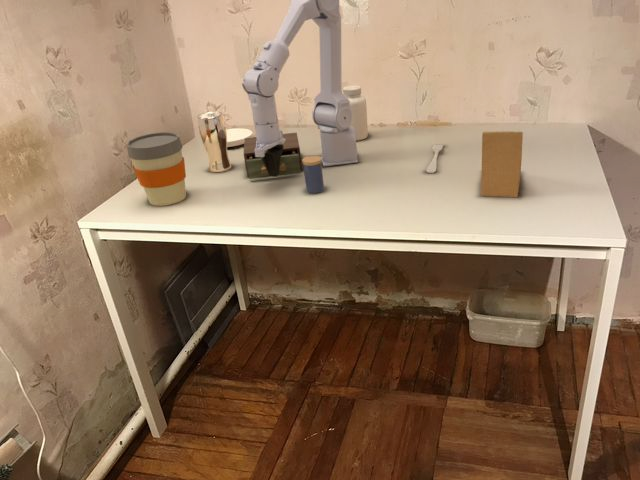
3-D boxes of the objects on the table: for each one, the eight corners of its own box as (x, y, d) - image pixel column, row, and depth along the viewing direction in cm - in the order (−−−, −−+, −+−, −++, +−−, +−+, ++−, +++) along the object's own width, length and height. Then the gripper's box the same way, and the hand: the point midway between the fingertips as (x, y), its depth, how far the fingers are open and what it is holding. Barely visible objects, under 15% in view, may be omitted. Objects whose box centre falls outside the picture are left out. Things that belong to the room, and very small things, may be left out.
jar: (323, 185, 145) (320, 154, 141) (325, 192, 141) (322, 161, 137) (305, 187, 144) (301, 157, 140) (306, 194, 140) (302, 163, 136)
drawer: (301, 178, 148) (299, 160, 145) (248, 184, 146) (245, 166, 144) (298, 157, 162) (295, 140, 159) (249, 163, 161) (247, 146, 158)
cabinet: (302, 170, 155) (299, 147, 152) (247, 177, 154) (243, 153, 150) (299, 154, 167) (296, 132, 163) (248, 160, 165) (244, 138, 162)
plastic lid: (216, 153, 173) (215, 145, 172) (203, 142, 184) (201, 134, 182) (260, 143, 179) (259, 135, 177) (244, 133, 189) (243, 125, 188)
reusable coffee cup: (152, 190, 150) (136, 133, 143) (199, 187, 150) (186, 130, 142) (134, 210, 140) (116, 150, 132) (185, 207, 139) (170, 146, 131)
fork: (425, 181, 148) (425, 171, 147) (435, 146, 164) (434, 137, 163) (436, 181, 148) (436, 171, 146) (445, 146, 164) (445, 137, 162)
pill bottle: (368, 140, 173) (365, 89, 166) (341, 142, 174) (337, 91, 166) (368, 132, 180) (365, 83, 173) (342, 134, 181) (338, 85, 173)
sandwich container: (520, 172, 143) (524, 111, 135) (518, 197, 130) (523, 131, 122) (484, 171, 145) (486, 111, 137) (479, 196, 132) (482, 131, 125)
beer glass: (227, 173, 158) (216, 118, 150) (203, 172, 159) (192, 118, 152) (237, 164, 163) (227, 111, 156) (214, 164, 165) (203, 111, 157)
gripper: (271, 130, 131) (280, 186, 138) (291, 112, 143) (298, 165, 150) (242, 130, 133) (252, 186, 139) (264, 113, 145) (272, 165, 152)
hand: (274, 175), depth 145 cm, fingers closed
